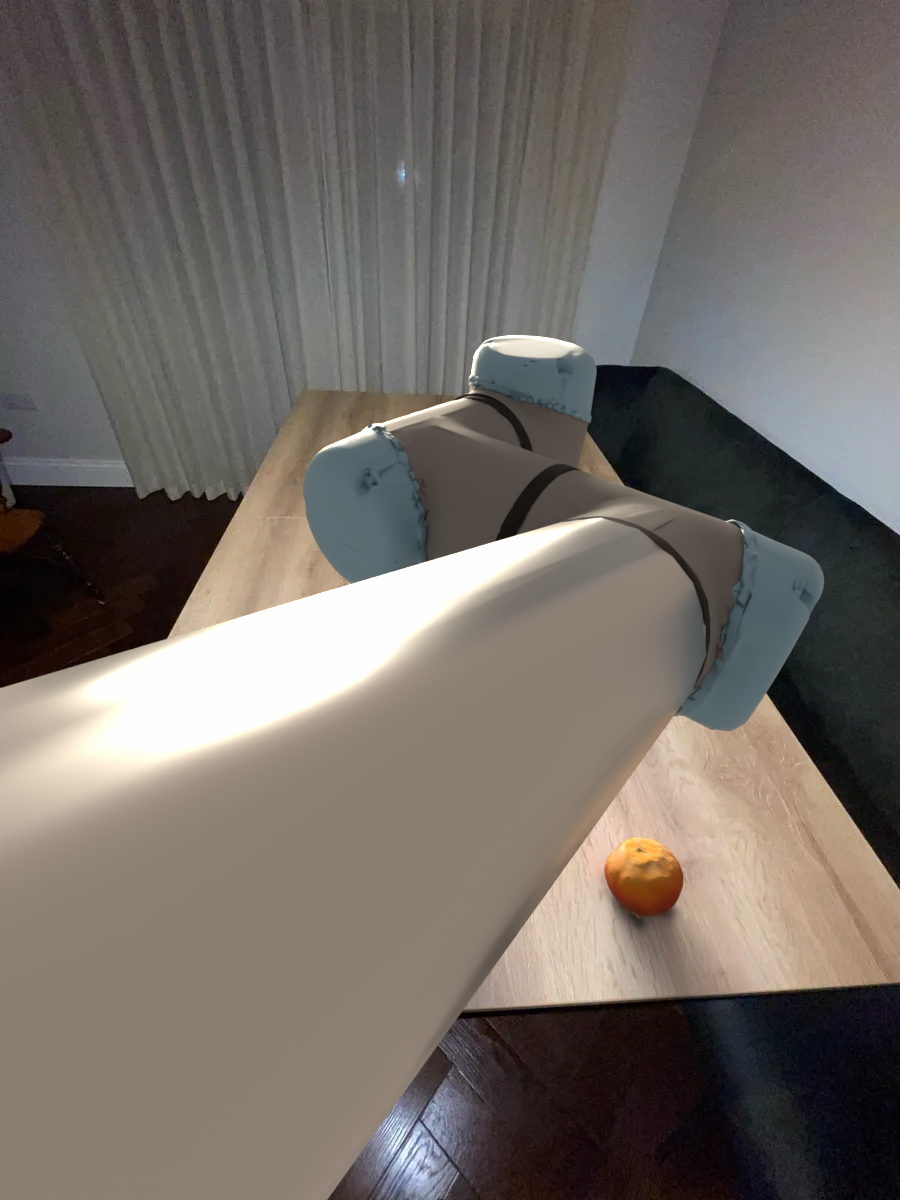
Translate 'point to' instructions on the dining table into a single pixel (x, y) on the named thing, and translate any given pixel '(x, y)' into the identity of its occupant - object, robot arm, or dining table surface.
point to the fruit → (644, 877)
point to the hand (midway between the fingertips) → (480, 741)
